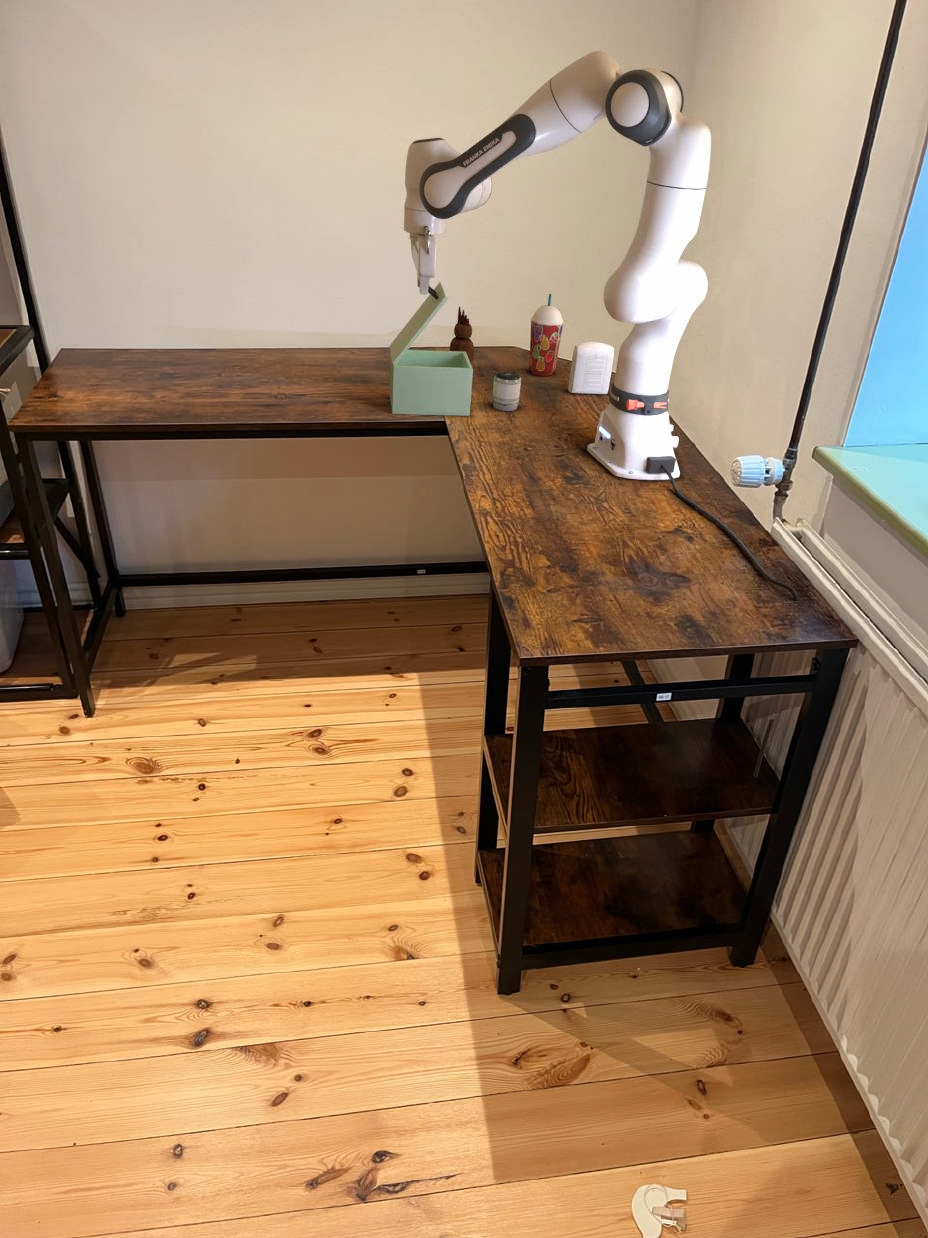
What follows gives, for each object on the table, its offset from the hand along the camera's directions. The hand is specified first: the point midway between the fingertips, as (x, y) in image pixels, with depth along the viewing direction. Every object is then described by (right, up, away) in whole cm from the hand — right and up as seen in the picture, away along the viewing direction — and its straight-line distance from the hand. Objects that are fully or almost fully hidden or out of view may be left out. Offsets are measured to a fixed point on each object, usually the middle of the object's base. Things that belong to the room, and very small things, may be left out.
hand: (422, 290), depth 210 cm
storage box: (+1, -22, +14) cm, 26 cm away
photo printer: (+40, -15, +30) cm, 52 cm away
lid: (-1, -6, +4) cm, 7 cm away
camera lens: (+19, -22, +16) cm, 33 cm away
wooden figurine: (+8, -6, +41) cm, 43 cm away
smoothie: (+29, -8, +42) cm, 51 cm away
